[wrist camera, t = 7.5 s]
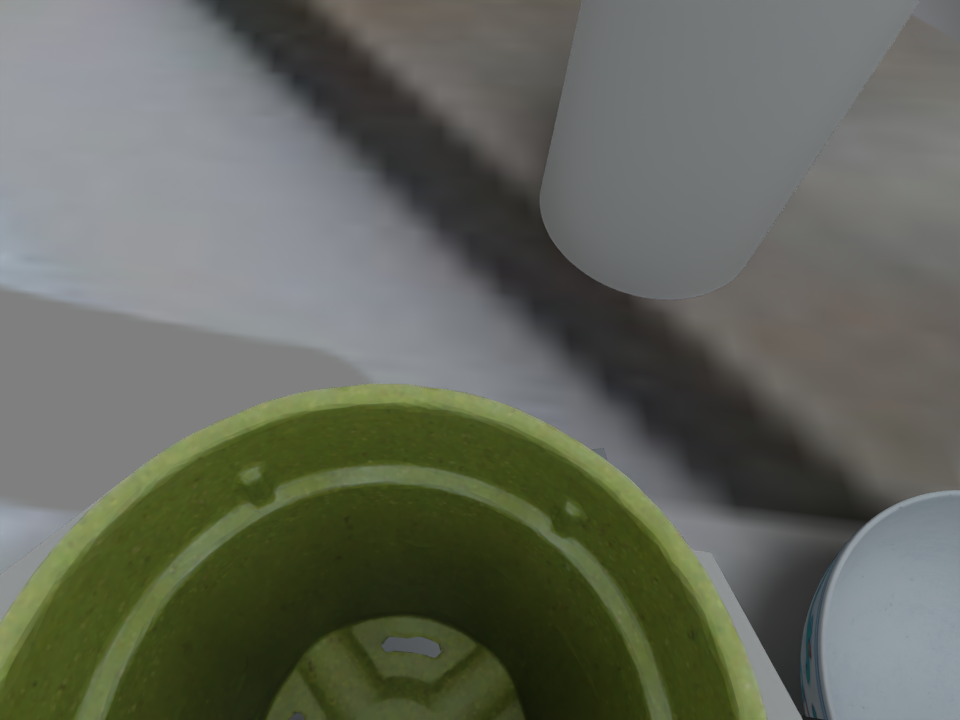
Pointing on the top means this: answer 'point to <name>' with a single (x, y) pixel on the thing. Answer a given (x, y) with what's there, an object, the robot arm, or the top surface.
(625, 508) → the plant pot
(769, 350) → the top surface
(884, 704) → the chinaware
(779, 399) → the top surface
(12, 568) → the robot arm
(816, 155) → the canister
